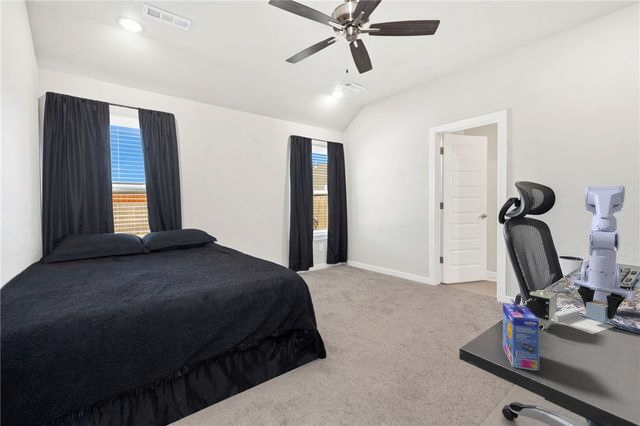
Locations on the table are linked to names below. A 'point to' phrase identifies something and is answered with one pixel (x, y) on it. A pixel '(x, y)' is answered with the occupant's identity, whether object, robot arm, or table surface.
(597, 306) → the block
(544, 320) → the pneumatic valve
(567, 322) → the rail board
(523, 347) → the ink cartridge box
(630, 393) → the table surface
